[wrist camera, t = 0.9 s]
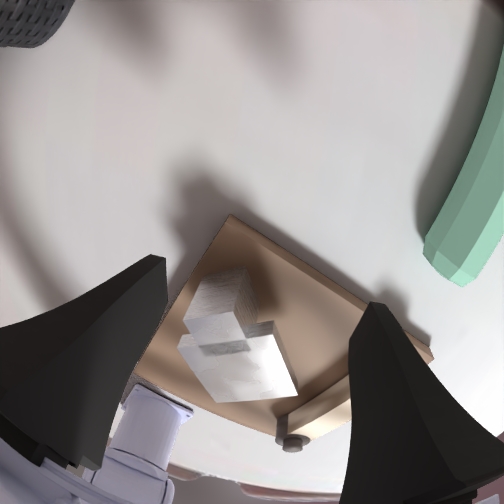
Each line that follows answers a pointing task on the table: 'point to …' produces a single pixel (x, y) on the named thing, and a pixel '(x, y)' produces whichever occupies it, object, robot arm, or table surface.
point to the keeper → (234, 342)
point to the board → (270, 308)
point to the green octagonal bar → (473, 201)
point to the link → (315, 417)
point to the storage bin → (30, 21)
